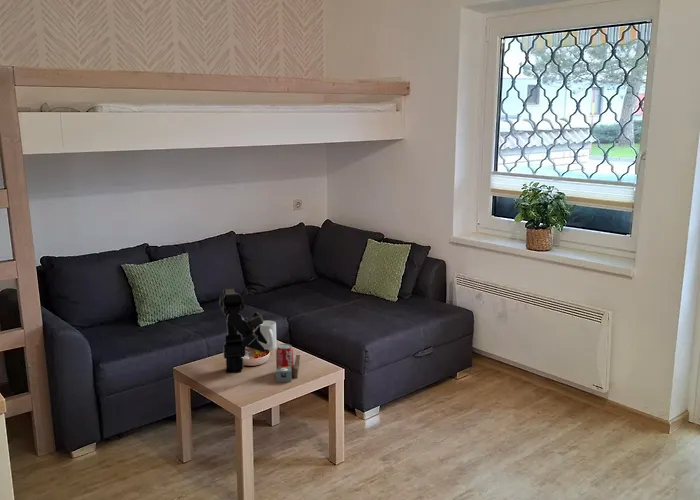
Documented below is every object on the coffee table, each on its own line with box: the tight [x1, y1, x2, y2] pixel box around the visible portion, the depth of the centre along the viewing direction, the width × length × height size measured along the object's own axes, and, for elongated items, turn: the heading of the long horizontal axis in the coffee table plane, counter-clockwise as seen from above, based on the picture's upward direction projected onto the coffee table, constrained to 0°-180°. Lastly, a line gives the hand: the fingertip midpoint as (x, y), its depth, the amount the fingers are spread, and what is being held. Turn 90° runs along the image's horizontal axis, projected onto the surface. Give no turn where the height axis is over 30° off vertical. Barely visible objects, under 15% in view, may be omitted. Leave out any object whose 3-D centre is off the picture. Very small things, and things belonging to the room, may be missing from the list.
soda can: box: [275, 343, 294, 373], centre depth 273 cm, size 7×7×12 cm
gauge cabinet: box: [275, 368, 293, 383], centre depth 267 cm, size 6×4×5 cm, turn 91°
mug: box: [258, 320, 277, 351], centre depth 300 cm, size 8×12×12 cm
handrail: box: [293, 354, 301, 379], centre depth 276 cm, size 2×15×4 cm, turn 1°
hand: (265, 347), depth 272 cm, fingers open, 9 cm apart
